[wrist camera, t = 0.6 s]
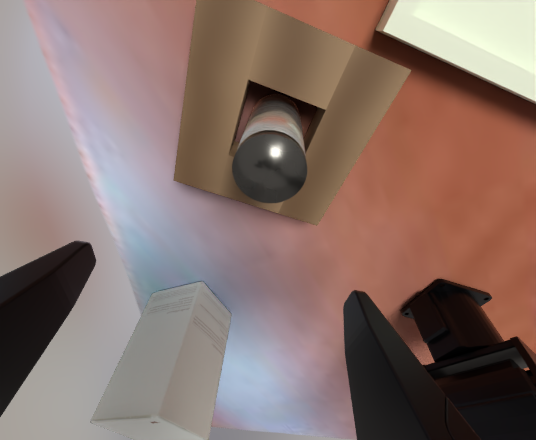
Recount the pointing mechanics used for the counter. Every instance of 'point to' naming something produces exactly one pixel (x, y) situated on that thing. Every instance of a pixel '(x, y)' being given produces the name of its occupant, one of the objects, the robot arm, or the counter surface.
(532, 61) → the tray
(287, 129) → the pin
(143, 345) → the supplement box
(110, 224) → the counter surface
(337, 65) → the socket
